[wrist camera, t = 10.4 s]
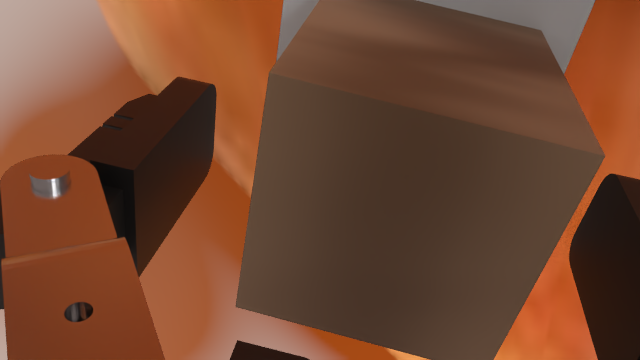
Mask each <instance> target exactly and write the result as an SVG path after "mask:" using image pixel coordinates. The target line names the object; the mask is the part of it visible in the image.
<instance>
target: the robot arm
mask: <svg viewBox="0 0 640 360" xmlns="http://www.w3.org/2000/svg"><path fill="white" fill-rule="evenodd" d="M215 113H216V88H215V86H214V85H213V84H209V83H205V82H200V81H196V80H191V79H187V78H182V77H177V78H176V79H175V80H173V81H172V82H171V83H170V84H169V85H168V86H167V87H166V88H165V89H164V90H163V91H162V92H161V93H160V94H159V95H158V96H157V95H152V94H148V95H145V96H142V97H140V98H137V99H134V100H132V101H129V102H127V103H126V104H125V105H124V106H123V107H122V108H120V109H119V110H118V111H117V112H116V113H115V114H114V117H110V118H109V119H108V120H107V121H106V122H105V123H103V126H102V127H99V128H98V129H96V130H95V131H94V132H93V133H92V134H91V135H90V136H89V137H88V138H86V139H85V140H84V141H83V142H82V143H81V144H80V145H78V146H77V147H76V148H75V149H74V150H73V151H71V152H70V153H69V154H68V155H43V156H37V157H33V158H29V159H26V160H23V161H21V162H19V163H17V164H15V165H14V166H12V167H10V168H9V169H8V170H7V171H6V172H5V173H4V174H3V176H2V178H1V180H0V309H4V311H5V327H6V342H7V356H8V360H165V358H164V355H163V351H162V349H161V345H160V342H159V339H158V336H157V333H156V330H155V327H154V323H153V320H152V317H151V314H150V311H149V308H148V305H147V302H146V299H145V296H144V292H143V289H142V286H141V283H140V280H139V277H140V275H141V273H142V272H143V271H144V269H145V267H146V266H147V264H148V263H149V262H150V260H151V259H152V257H153V256H154V254H155V253H156V251H157V250H158V248H159V247H160V245H161V244H162V242H163V241H164V239H165V238H166V236H167V235H168V233H169V232H170V230H171V229H172V227H173V226H174V224H175V223H176V221H177V220H178V218H179V217H180V215H181V214H182V212H183V211H184V209H185V208H186V206H187V205H188V203H189V202H190V201H191V199H192V198H193V196H194V195H195V193H196V192H197V190H198V188H199V187H200V185H201V184H202V183H203V181H204V179H205V178H206V176H207V174H208V172H209V169H210V165H211V162H212V157H213V150H214V132H215ZM569 261H570V266H571V270H572V273H573V276H574V280H575V283H576V287H577V290H578V293H579V297H580V300H581V304H582V307H583V311H584V314H585V317H586V321H587V324H588V328H589V331H590V334H591V338H592V341H593V345H594V348H595V351H596V355H597V358H598V360H640V180H639V179H635V178H630V177H626V176H621V175H617V174H609V175H608V176H606V177H605V178H604V180H603V181H602V182H601V184H600V186H599V188H598V190H597V192H596V194H595V196H594V198H593V199H592V201H591V203H590V205H589V207H588V209H587V211H586V213H585V215H584V217H583V219H582V221H581V223H580V224H579V226H578V228H577V230H576V232H575V234H574V236H573V239H572V242H571V247H570V254H569ZM230 360H309V359H307V358H305V357H301V356H297V355H293V354H289V353H285V352H280V351H277V350H273V349H269V348H265V347H261V346H258V345H253V344H250V343H245V342H242V341H238V340H237V343H236V345H235V348H234V350H233V353H232V355H231V358H230Z"/></svg>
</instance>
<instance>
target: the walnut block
mask: <svg viewBox="0 0 640 360" xmlns="http://www.w3.org/2000/svg"><path fill="white" fill-rule="evenodd" d="M604 158H605V154H604V152H603V150H602V149H601V147H600V145H599V143H598V141H597V139H596V137H595V135H594V133H593V131H592V129H591V127H590V125H589V123H588V121H587V119H586V117H585V115H584V113H583V111H582V109H581V107H580V105H579V103H578V101H577V99H576V97H575V95H574V93H573V91H572V90H571V88H570V86H569V84H568V82H567V80H566V78H565V76H564V74H563V72H562V70H561V68H560V66H559V64H558V62H557V60H556V58H555V56H554V54H553V52H552V50H551V48H550V46H549V44H548V42H547V40H546V38H545V36H544V34H543V32H542V31H541V30H538V29H534V28H530V27H526V26H521V25H517V24H513V23H509V22H505V21H500V20H496V19H492V18H488V17H484V16H479V15H475V14H471V13H467V12H463V11H458V10H454V9H450V8H446V7H442V6H437V5H433V4H429V3H425V2H421V1H417V0H319V1H318V3H317V4H316V6H315V7H314V9H313V10H312V12H311V13H310V14H309V16H308V17H307V19H306V20H305V22H304V23H303V24H302V26H301V27H300V29H299V30H298V32H297V33H296V35H295V36H294V37H293V39H292V40H291V42H290V43H289V45H288V46H287V48H286V49H285V50H284V52H283V53H282V55H281V56H280V58H279V59H278V60H277V62H276V63H275V65H274V66H273V68H272V69H271V71H270V72H269V77H268V84H267V91H266V98H265V105H264V112H263V119H262V126H261V133H260V140H259V147H258V154H257V161H256V168H255V175H254V182H253V189H252V196H251V203H250V210H249V217H248V224H247V231H246V237H245V245H244V251H243V258H242V265H241V272H240V279H239V286H238V294H237V301H236V307H238V308H242V309H246V310H249V311H253V312H257V313H261V314H264V315H268V316H272V317H275V318H279V319H283V320H287V321H290V322H294V323H297V324H301V325H305V326H309V327H312V328H316V329H320V330H323V331H327V332H331V333H334V334H338V335H342V336H346V337H349V338H353V339H357V340H360V341H365V342H368V343H371V344H375V345H379V346H383V347H386V348H390V349H394V350H397V351H401V352H405V353H408V354H412V355H416V356H420V357H423V358H427V359H431V360H493V359H494V358H495V356H496V354H497V352H498V350H499V349H500V347H501V345H502V343H503V341H504V339H505V338H506V336H507V334H508V332H509V330H510V329H511V327H512V325H513V323H514V321H515V319H516V318H517V316H518V314H519V312H520V310H521V309H522V307H523V305H524V303H525V301H526V299H527V298H528V296H529V294H530V292H531V290H532V289H533V287H534V285H535V283H536V281H537V279H538V278H539V276H540V274H541V272H542V270H543V269H544V267H545V265H546V263H547V261H548V259H549V258H550V256H551V254H552V252H553V250H554V248H555V247H556V245H557V243H558V241H559V239H560V238H561V236H562V234H563V232H564V230H565V228H566V227H567V225H568V223H569V221H570V219H571V218H572V216H573V214H574V212H575V210H576V208H577V207H578V205H579V203H580V201H581V199H582V198H583V196H584V194H585V192H586V190H587V188H588V187H589V185H590V183H591V181H592V179H593V178H594V176H595V174H596V172H597V170H598V168H599V167H600V165H601V163H602V161H603V159H604Z"/></svg>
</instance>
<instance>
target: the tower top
mask: <svg viewBox="0 0 640 360" xmlns="http://www.w3.org/2000/svg"><path fill="white" fill-rule="evenodd" d="M318 1H319V0H284V1H283V10H282V18H281V26H280V35H279V43H278V52H277V60H278V59H279V58H280V56H281V55H282V53H283V52H284V50H285V49H286V48H287V46H288V45H289V43H290V42H291V40H292V39H293V37H294V36H295V35H296V33H297V32H298V30H299V29H300V27H301V26H302V24H303V23H304V22H305V20H306V19H307V17H308V16H309V14H310V13H311V12H312V10H313V9H314V7H315V6H316V4H317V3H318ZM417 1H421V2H425V3H429V4H433V5H437V6H442V7H446V8H450V9H454V10H458V11H463V12H467V13H471V14H475V15H479V16H484V17H488V18H492V19H496V20H500V21H505V22H509V23H513V24H517V25H521V26H526V27H530V28H534V29H538V30H541V31H542V32H543V34H544V36H545V38H546V40H547V42H548V44H549V46H550V48H551V50H552V52H553V54H554V56H555V58H556V60H557V62H558V64H559V66H560V68H561V70H562V72H563V74H564V73H565V71H566V68H567V66H568V64H569V61H570V59H571V57H572V54H573V52H574V49H575V47H576V45H577V42H578V40H579V38H580V35H581V33H582V31H583V28H584V26H585V24H586V21H587V19H588V16H589V14H590V12H591V9H592V7H593V5H594V2H595V0H417ZM277 60H276V62H277Z"/></svg>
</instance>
